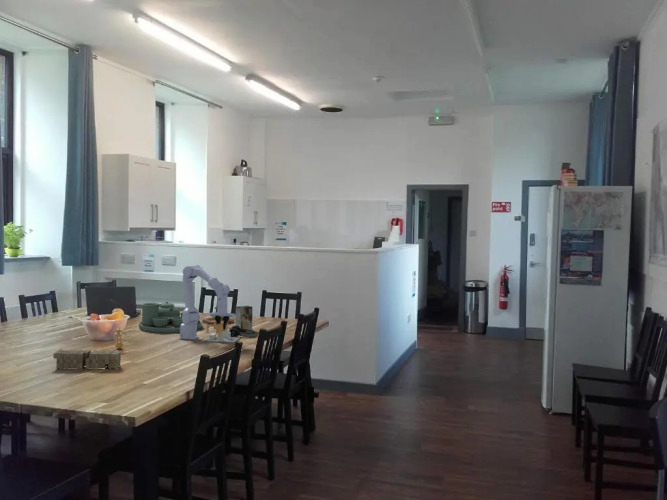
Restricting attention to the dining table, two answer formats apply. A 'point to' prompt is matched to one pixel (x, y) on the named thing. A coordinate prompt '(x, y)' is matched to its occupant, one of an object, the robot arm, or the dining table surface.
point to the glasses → (217, 327)
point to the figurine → (118, 344)
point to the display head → (222, 337)
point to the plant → (211, 320)
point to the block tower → (87, 358)
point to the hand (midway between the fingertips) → (221, 329)
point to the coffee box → (244, 317)
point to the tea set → (161, 318)
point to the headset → (236, 331)
